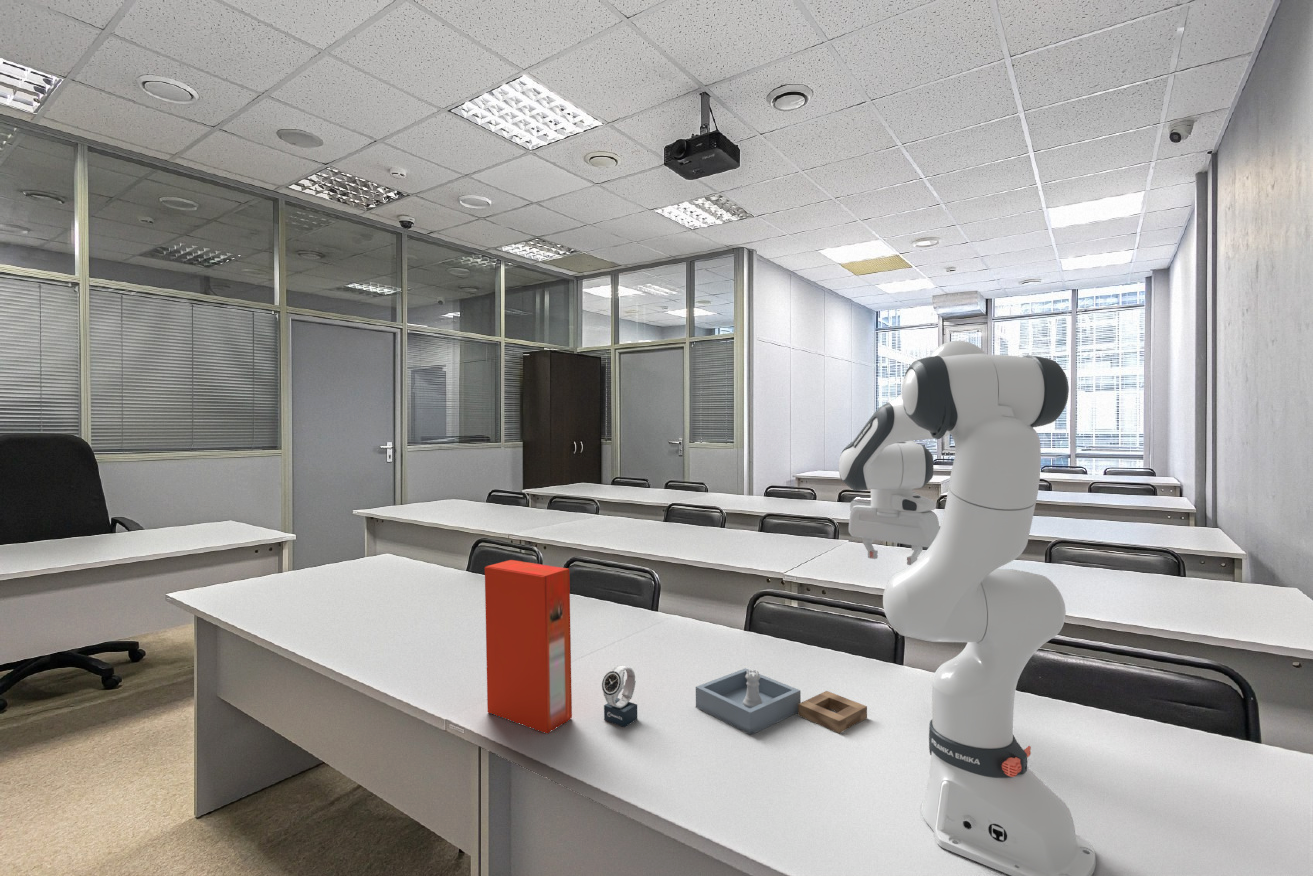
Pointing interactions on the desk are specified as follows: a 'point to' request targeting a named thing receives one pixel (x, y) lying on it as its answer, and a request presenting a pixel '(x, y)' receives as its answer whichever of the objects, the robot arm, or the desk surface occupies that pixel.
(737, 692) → the tray
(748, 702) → the rook chess piece
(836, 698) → the socket block
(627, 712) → the watch
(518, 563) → the file binder
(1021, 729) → the desk surface
